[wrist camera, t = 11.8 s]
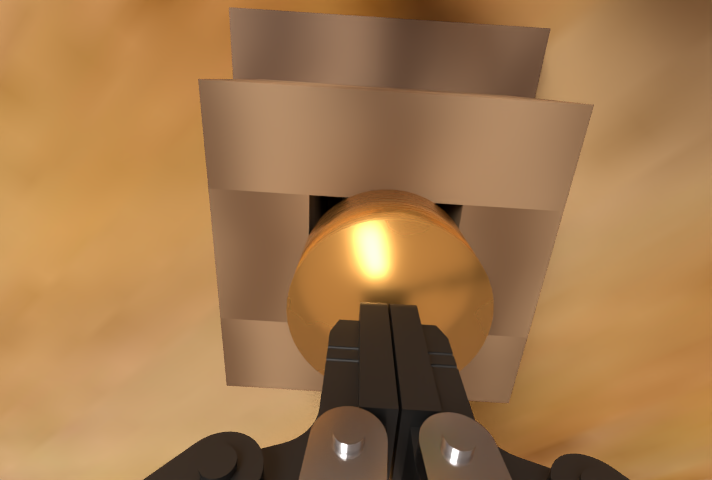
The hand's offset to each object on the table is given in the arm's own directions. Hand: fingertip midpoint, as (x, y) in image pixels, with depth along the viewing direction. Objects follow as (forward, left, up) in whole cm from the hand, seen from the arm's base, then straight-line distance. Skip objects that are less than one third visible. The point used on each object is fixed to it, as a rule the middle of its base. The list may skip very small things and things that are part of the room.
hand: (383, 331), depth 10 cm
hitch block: (0, 0, -13) cm, 13 cm away
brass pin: (0, 0, -11) cm, 11 cm away
